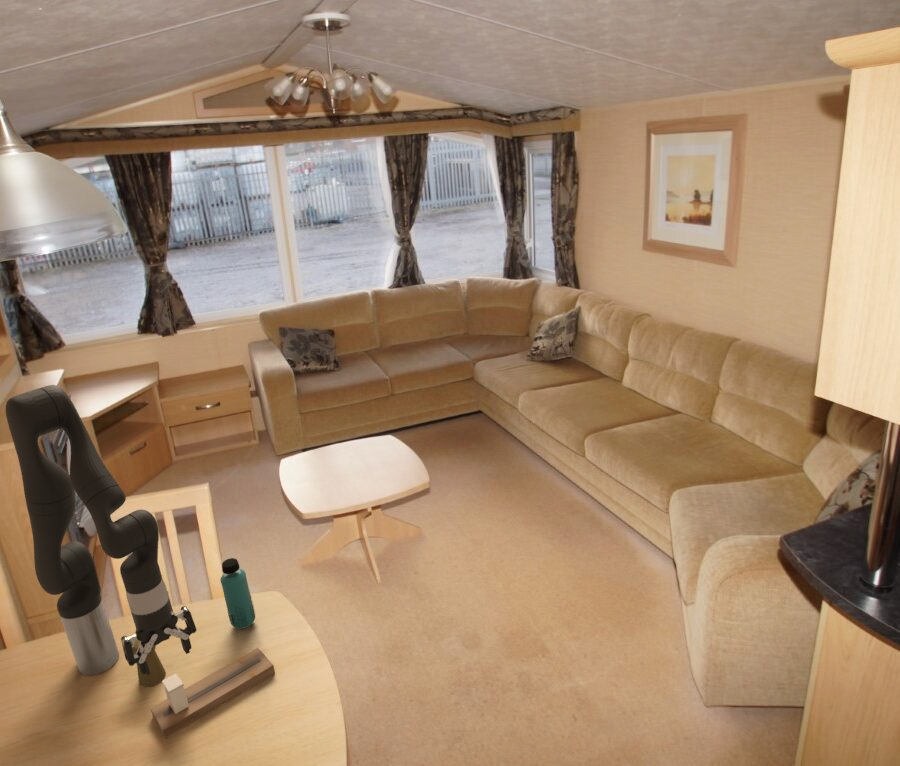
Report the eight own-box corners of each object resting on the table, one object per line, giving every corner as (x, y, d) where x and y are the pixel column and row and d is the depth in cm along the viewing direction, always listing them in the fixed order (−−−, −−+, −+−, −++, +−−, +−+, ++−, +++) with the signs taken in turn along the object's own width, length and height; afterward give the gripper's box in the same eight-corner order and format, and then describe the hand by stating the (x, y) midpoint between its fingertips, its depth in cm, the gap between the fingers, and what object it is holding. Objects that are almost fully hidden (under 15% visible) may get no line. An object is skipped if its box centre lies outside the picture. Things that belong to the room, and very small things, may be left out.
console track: (152, 716, 153) (150, 708, 152) (259, 655, 168) (257, 647, 167) (165, 738, 147) (162, 729, 146) (275, 673, 162) (273, 664, 161)
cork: (156, 688, 160) (145, 652, 156) (133, 686, 162) (122, 649, 158) (171, 669, 166) (160, 633, 162) (148, 666, 167) (138, 631, 163)
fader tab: (168, 703, 152) (161, 681, 150) (182, 695, 154) (176, 673, 152) (175, 714, 149) (168, 691, 147) (189, 706, 151) (183, 683, 149)
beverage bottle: (262, 618, 180) (248, 555, 173) (247, 636, 175) (232, 571, 167) (241, 614, 183) (226, 552, 175) (225, 631, 177) (210, 567, 169)
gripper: (176, 577, 148) (192, 636, 154) (107, 609, 140) (127, 670, 146) (189, 592, 143) (206, 653, 149) (119, 627, 134) (139, 690, 140)
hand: (167, 662), depth 147 cm, fingers open, 8 cm apart
